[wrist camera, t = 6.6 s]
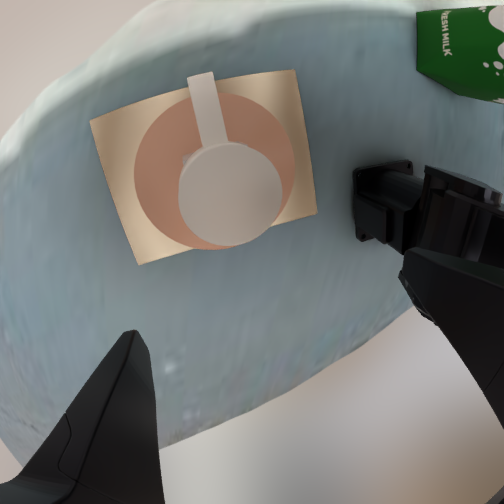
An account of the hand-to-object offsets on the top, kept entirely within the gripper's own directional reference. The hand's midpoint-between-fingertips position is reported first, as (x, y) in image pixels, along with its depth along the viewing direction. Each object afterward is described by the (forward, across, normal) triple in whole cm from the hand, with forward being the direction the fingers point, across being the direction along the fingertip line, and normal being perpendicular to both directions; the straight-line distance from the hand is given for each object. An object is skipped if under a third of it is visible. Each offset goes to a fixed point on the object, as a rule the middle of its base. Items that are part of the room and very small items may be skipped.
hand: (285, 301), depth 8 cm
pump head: (+9, +1, -4) cm, 10 cm away
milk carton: (+13, -23, -11) cm, 29 cm away
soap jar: (+13, 0, -2) cm, 13 cm away
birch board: (+13, 0, -2) cm, 13 cm away
